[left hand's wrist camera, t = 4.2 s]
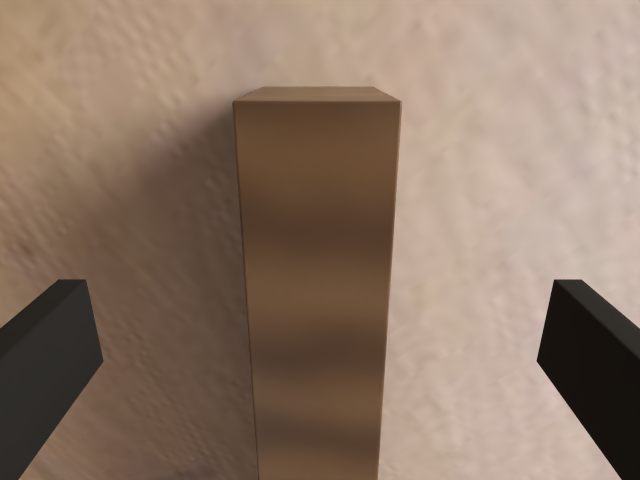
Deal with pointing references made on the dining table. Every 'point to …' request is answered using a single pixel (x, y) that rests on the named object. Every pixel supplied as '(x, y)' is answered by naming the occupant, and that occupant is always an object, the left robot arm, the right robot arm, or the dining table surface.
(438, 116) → the dining table surface
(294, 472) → the bar
